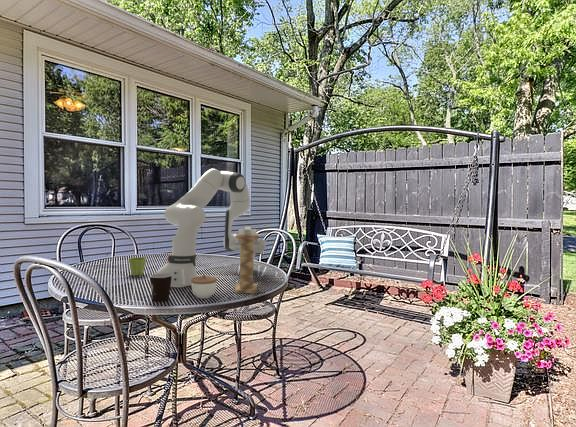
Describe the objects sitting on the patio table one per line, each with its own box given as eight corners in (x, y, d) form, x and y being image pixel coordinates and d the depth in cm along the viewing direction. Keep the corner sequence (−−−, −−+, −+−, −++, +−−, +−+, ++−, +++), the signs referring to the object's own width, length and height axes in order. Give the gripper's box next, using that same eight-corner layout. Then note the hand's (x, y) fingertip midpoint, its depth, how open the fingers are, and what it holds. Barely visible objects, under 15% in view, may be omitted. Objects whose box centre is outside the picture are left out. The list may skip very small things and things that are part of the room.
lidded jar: (201, 292, 163) (202, 271, 163) (221, 295, 159) (221, 274, 158) (185, 297, 154) (185, 275, 153) (206, 301, 149) (206, 278, 149)
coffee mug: (169, 302, 146) (170, 277, 146) (147, 302, 145) (147, 277, 145) (174, 294, 158) (174, 271, 158) (153, 295, 157) (153, 272, 156)
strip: (238, 235, 164) (238, 229, 164) (239, 231, 184) (239, 226, 183) (256, 235, 165) (256, 229, 164) (255, 231, 184) (255, 226, 184)
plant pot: (123, 275, 194) (123, 259, 193) (136, 272, 203) (136, 256, 202) (138, 277, 191) (138, 260, 191) (150, 273, 200) (150, 258, 200)
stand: (234, 293, 163) (236, 235, 162) (235, 286, 175) (237, 232, 175) (257, 293, 164) (258, 235, 163) (256, 286, 176) (257, 233, 176)
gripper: (229, 243, 207) (228, 233, 195) (265, 243, 209) (266, 233, 197) (228, 253, 204) (227, 244, 192) (265, 253, 206) (266, 244, 194)
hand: (247, 238), depth 195 cm, fingers open, 8 cm apart
